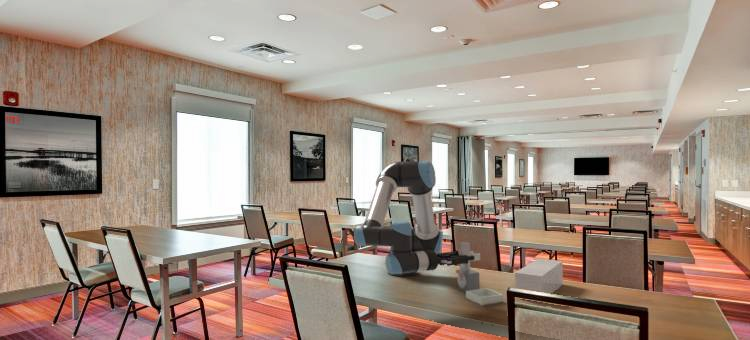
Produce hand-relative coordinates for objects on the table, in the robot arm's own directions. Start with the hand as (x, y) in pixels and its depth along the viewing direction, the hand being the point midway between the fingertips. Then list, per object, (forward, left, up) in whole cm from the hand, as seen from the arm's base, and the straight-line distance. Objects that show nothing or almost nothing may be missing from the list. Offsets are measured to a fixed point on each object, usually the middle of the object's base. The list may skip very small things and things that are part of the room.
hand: (476, 255), depth 176 cm
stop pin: (0, -5, -6) cm, 8 cm away
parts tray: (+2, +2, -18) cm, 18 cm away
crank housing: (-13, +4, -18) cm, 22 cm away
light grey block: (+1, +32, -18) cm, 37 cm away
